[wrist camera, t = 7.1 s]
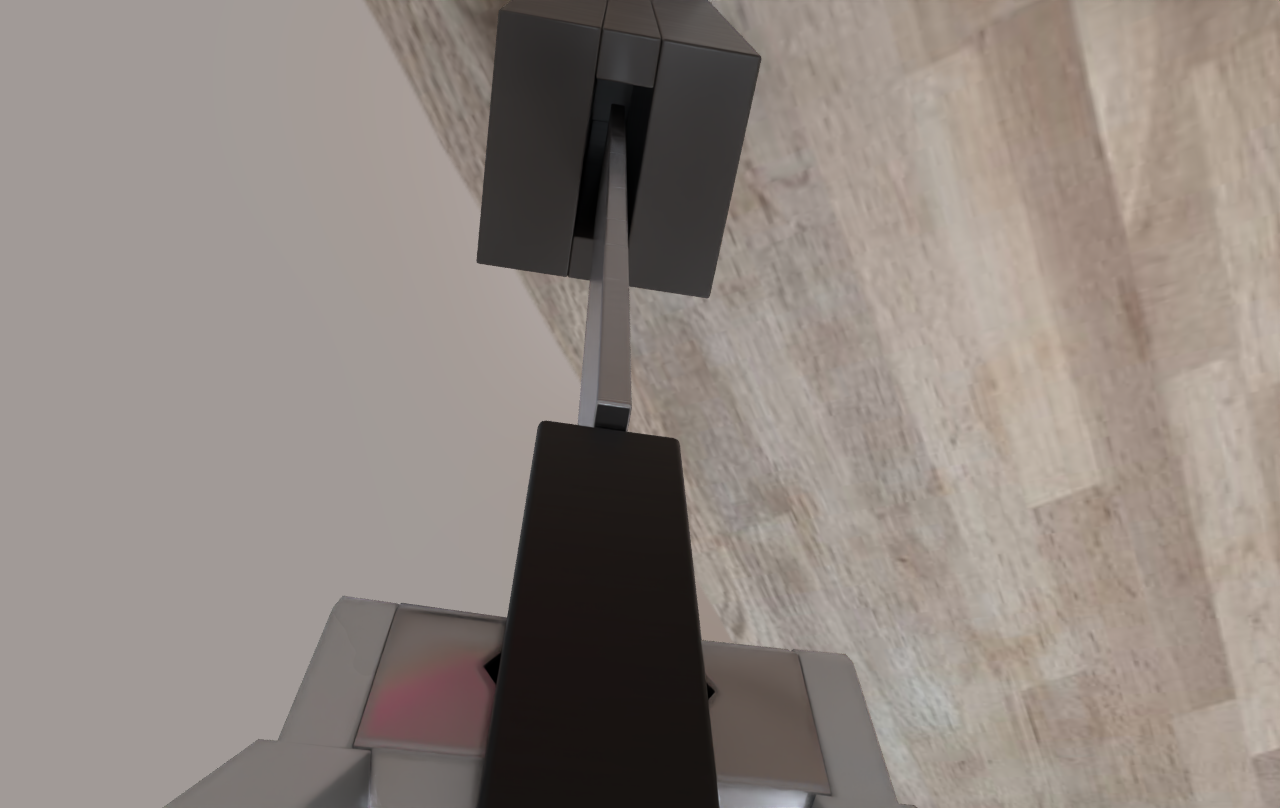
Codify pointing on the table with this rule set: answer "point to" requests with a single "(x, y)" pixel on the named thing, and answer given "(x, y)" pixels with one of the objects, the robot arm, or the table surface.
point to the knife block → (577, 127)
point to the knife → (603, 588)
